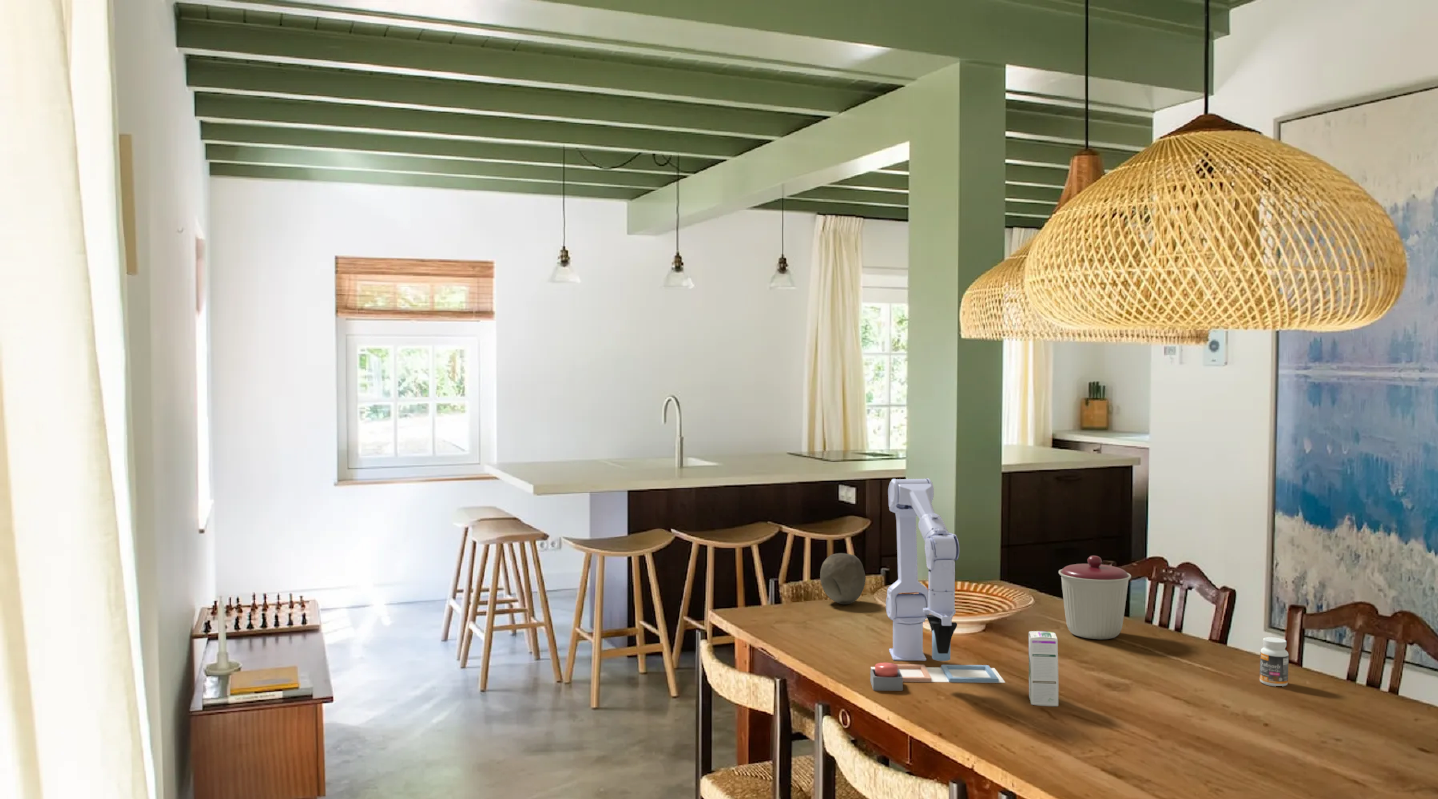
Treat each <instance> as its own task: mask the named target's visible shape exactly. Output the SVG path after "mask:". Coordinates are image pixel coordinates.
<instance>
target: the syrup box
mask: <svg viewBox="0 0 1438 799" xmlns="http://www.w3.org/2000/svg"><path fill="white" fill-rule="evenodd" d="M1058 640H1059V639H1058V636H1057V634H1056V632H1054V631H1045V630H1036V631H1035V630H1033V631H1032V630H1031V631H1030V630H1029V631H1028V699H1029V700H1030V701H1029V702H1030V705H1032V706H1033V705H1034V706H1039V707H1040V706H1041V707H1059V654H1058V653H1059V647H1058V644H1059V642H1058Z"/></svg>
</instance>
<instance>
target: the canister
mask: <svg viewBox="0 0 1438 799" xmlns="http://www.w3.org/2000/svg"><path fill="white" fill-rule="evenodd" d="M1102 562H1103V561H1102V558H1101V557H1100V556H1098V555H1090V556H1089V557H1088V558H1087V563H1076V564H1069V565H1066V566H1064V567H1063V568H1062V569H1059V570H1058V574H1059V576H1061V577H1060V578H1061V590H1062V598H1063V600H1062V601H1063V607H1064V615H1065V623H1066V626H1067V630H1068V631H1069V632H1070V633H1071V634H1072V635H1074V636H1077V637H1079V638H1083V639H1090V640H1109V639H1110V640H1111V639H1114V638H1116V637H1118V636H1119V635H1120V633H1121V632H1122V629H1123V623H1124V617H1125V613H1126V612H1125V609H1126V601H1127V594H1128V586H1129V580H1131V578H1132V575H1131V574H1130V573H1129V572H1127V571H1126V570H1125V569H1123V568H1120V567H1117V566H1113V565H1109V564H1102Z"/></svg>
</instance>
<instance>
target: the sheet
mask: <svg viewBox="0 0 1438 799" xmlns="http://www.w3.org/2000/svg"><path fill="white" fill-rule="evenodd" d="M925 667H926V669H927V671H928V673H929V675H930V676H931V682H930V683H950V682H949V681H948V679H947V677H946V675H945V674H944V672H943V670H942V669H941V666H940V667H935V666H934V667H933V666H932V667H927V666H925ZM990 668H991V669H992V671H993V672H994V673H995V675H996V676H997V677H998V679H999V682H977V683H982V684H983V683H985V684H988V683H990V684H991V683H992V684H995V683H996V684H1003V683H1006V681H1005V680H1004V678H1003V677H1002V676H1001V675H1000V673H999V672H998V670H997V669H996V668H995V667H990ZM871 669H875V666H870V670H871ZM899 670H900V673H901V675H902V677H924V675H923V673H922V671H921V669H899ZM948 670H949V671H950V673H951V675H952V676H953V677H982V678H991V677H990V676H989V675H988V673H987V672H986V670H960V669H948Z"/></svg>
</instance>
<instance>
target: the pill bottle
mask: <svg viewBox="0 0 1438 799" xmlns="http://www.w3.org/2000/svg"><path fill="white" fill-rule="evenodd" d="M1262 644H1263V647H1261V649H1260V654H1259V660H1260V661H1259V682H1260V683H1262V684H1263V685H1266V686H1270V687H1276V686H1282V687H1286V686H1288V683H1289V660H1290V659H1289V657H1290V656H1289V652H1288V651H1287V650H1286V648H1287V646H1288V645H1287V640H1286V639H1284V638H1279V637H1274V636H1273V637H1272V636H1266V637H1263V639H1262Z"/></svg>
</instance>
